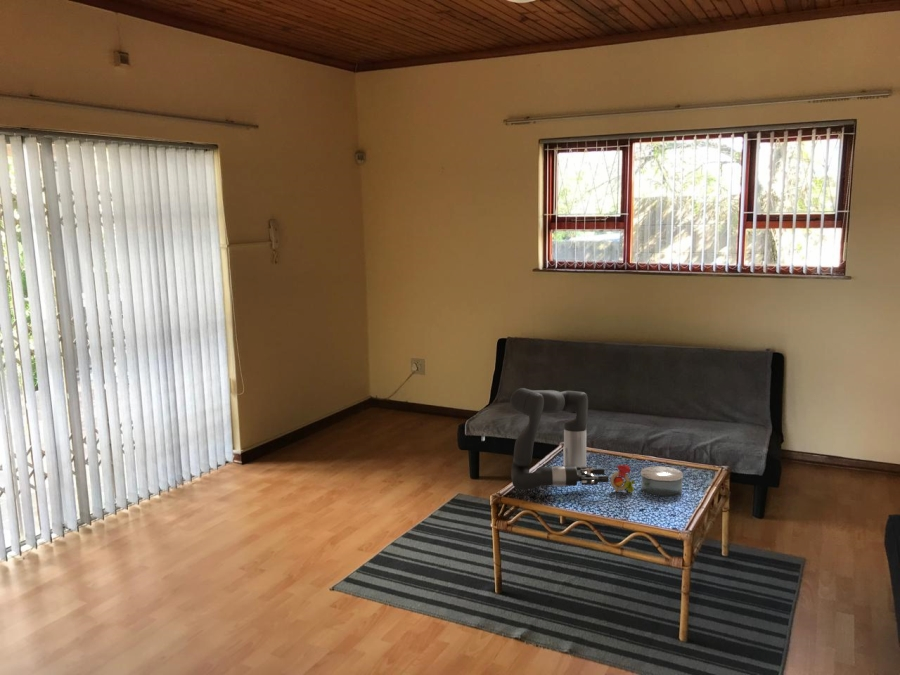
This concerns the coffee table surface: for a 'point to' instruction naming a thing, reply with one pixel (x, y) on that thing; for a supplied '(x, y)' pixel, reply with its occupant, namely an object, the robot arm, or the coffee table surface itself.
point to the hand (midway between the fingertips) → (606, 475)
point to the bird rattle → (618, 481)
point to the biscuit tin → (661, 481)
